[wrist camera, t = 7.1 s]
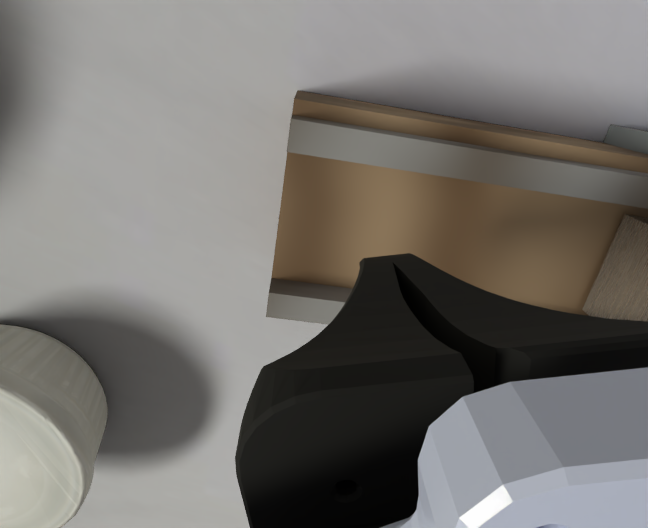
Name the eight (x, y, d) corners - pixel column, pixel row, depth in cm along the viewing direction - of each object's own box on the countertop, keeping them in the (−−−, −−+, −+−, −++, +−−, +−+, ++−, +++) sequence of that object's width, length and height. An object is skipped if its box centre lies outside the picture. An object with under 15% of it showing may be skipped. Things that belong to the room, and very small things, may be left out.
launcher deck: (603, 142, 20) (717, 173, 15) (541, 296, 24) (615, 370, 18) (297, 90, 19) (293, 101, 13) (275, 261, 22) (264, 328, 17)
